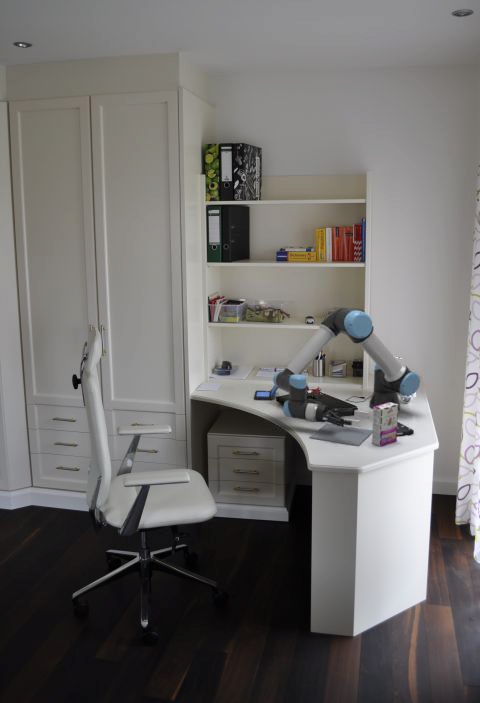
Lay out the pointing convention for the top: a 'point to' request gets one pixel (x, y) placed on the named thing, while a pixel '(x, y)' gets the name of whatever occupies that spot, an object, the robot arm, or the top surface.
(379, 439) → the candy bar box
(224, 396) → the top surface
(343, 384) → the top surface
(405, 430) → the disk drive
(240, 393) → the top surface
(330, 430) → the slate mat
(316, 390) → the figurine
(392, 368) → the robot arm
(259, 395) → the handheld game console
